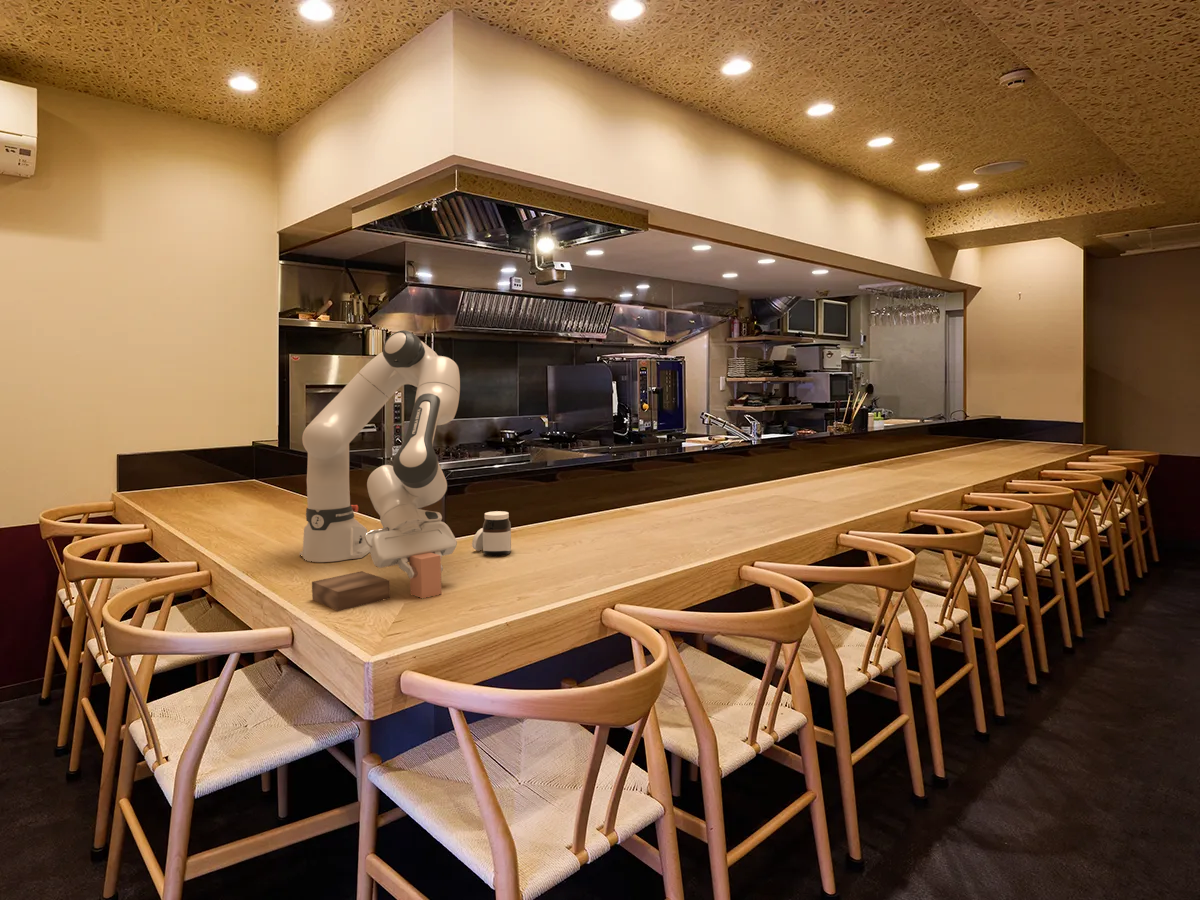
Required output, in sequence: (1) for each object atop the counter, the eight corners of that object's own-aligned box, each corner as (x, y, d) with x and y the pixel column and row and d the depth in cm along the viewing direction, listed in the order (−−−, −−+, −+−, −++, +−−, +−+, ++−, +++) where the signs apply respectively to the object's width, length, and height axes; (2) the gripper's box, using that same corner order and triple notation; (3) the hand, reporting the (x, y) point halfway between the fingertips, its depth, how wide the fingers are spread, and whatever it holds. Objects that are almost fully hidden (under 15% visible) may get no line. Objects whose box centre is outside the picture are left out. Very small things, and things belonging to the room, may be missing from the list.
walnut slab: (312, 601, 153) (311, 581, 153) (362, 590, 162) (362, 571, 162) (338, 612, 145) (338, 591, 145) (390, 600, 154) (389, 580, 154)
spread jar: (508, 557, 192) (507, 516, 191) (467, 557, 192) (466, 516, 191) (514, 548, 204) (513, 509, 203) (476, 548, 204) (475, 509, 203)
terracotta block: (410, 594, 157) (409, 555, 156) (429, 590, 160) (428, 551, 160) (421, 599, 153) (420, 559, 153) (441, 594, 157) (440, 555, 156)
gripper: (366, 523, 153) (388, 574, 147) (446, 511, 168) (469, 558, 161) (357, 540, 157) (379, 590, 151) (436, 527, 171) (459, 573, 165)
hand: (426, 573), depth 156 cm, fingers closed on terracotta block, 5 cm apart
